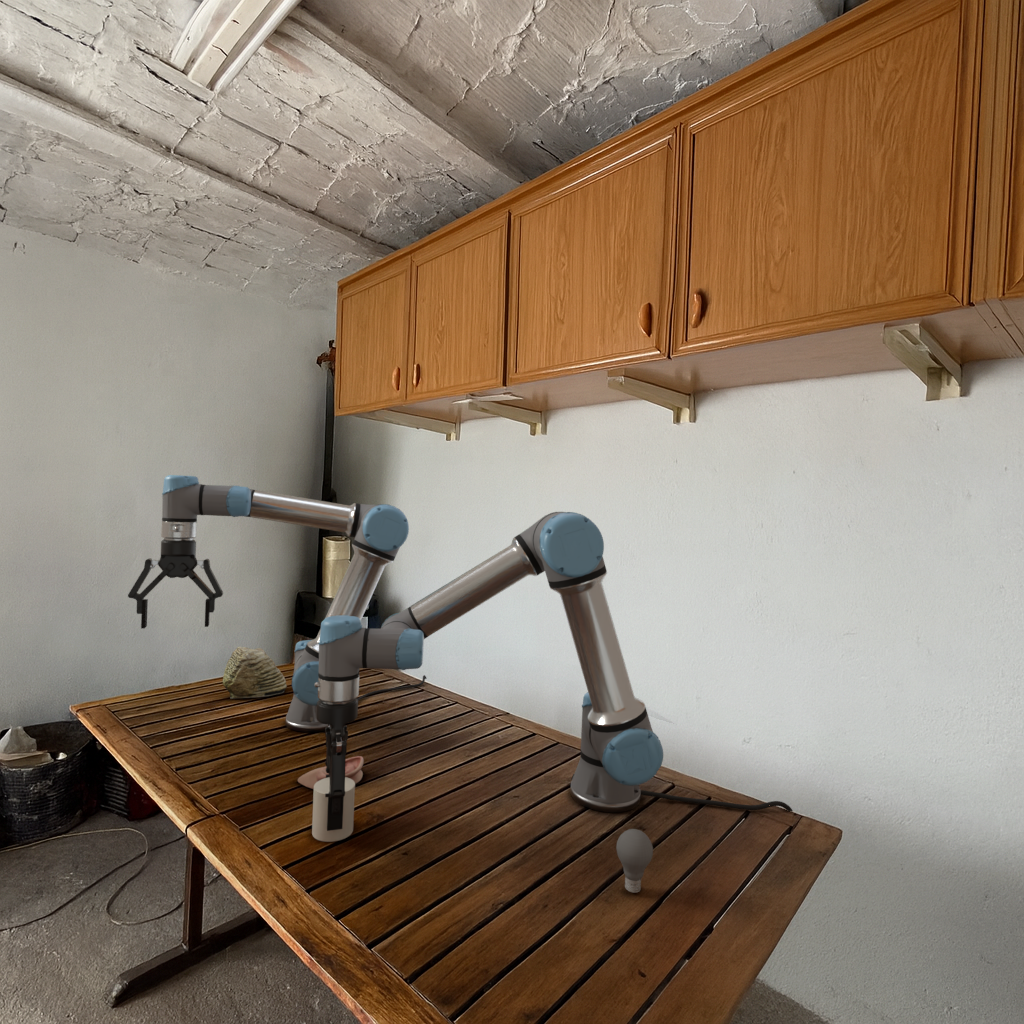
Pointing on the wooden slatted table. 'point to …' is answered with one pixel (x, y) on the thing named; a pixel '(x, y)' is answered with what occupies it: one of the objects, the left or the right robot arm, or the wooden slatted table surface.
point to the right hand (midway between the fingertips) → (333, 817)
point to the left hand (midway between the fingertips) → (175, 626)
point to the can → (322, 810)
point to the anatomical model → (315, 775)
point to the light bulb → (634, 857)
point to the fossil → (252, 674)
